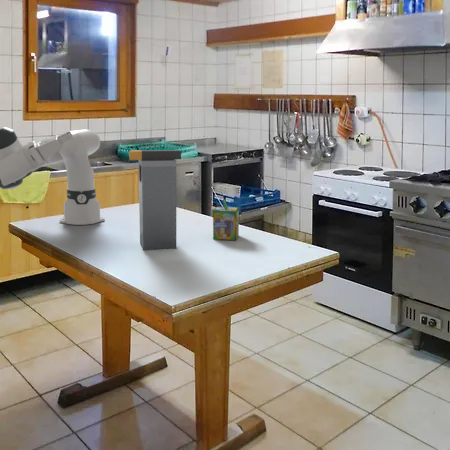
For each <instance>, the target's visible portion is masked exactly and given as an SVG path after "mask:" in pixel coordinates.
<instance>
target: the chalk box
mask: <svg viewBox="0 0 450 450" xmlns="http://www.w3.org/2000/svg"><path fill="white" fill-rule="evenodd" d="M222 202H223V203H222V204H223V206H216V207H214V209H213V210H212V227H213V228H212V230H213V231H212V232H213V233H212V234H213V235H212V236H213V237H212V238H213V240H217V241H219V240H221V241H222V240H224V241H226V240H228V241H237V239H238V237H239V230H240V229H239V228H240V227H239V226H240V225H239V224H240V223H239V222H240V221H239V220H240V213H239V212H240V208H239V207H236V206H234V207H233V206H228V205H227V201H226V199H224V200H223V201H222Z"/></svg>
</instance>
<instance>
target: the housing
mask: <svg viewBox="0 0 450 450" xmlns="http://www.w3.org/2000/svg"><path fill="white" fill-rule="evenodd" d="M138 201H139V202H138V203H139V206H138V207H139V244H140V247H141V249H142V251H163V250H177V159H163V160H138Z"/></svg>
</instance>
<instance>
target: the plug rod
mask: <svg viewBox="0 0 450 450" xmlns="http://www.w3.org/2000/svg"><path fill="white" fill-rule="evenodd" d="M128 153H129V154H128V155H129V156H128V157H129V160H130V161H139V160H163V159H175V160H182V150H180V149H159V150H158V149H153V150H152V149H146V150H145V149H140V150H138V149H137V150H136V149H135V150H132V149H131V150H129V152H128Z"/></svg>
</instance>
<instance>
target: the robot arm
mask: <svg viewBox="0 0 450 450" xmlns="http://www.w3.org/2000/svg"><path fill="white" fill-rule="evenodd" d="M100 147H101V139H100V136H99V134H98V133H96V132H95V131H93V130H90V129H84V128H83V129H77V130H68V131H65V132H64V133H62V134H59V135H58V134H55V135H54V136H50V137H45V138H43V139H39V140H36V141H35V140H32V141H31V142H29V143H27V144H24V145H23V144H22V142H21V141H20V139H19V137H18V135H17V134H16V132H15V131H14V129H12V128H9V127H1V128H0V189H2V190H13V189H16V188H18V187H19V186H20V185H22V184H23V180H24V179H26V178H27V177H30V175H32V174H33V171H37V170H39V169H40V168H42V167H46V166H50V165H54V164H59V163H64V166H65V170H66V181H67V189H66V198H67V199H66V201H64V203H63V216H62V217H61V218H60V219H59V223H61V224H68V225H74V226H75V225H76V226H77V225H78V226H81V225H83V226H84V225H85V226H86V225H93V224H97V223H100V222H105V221H106V219H105V217H103V216H102V215H101V207H100V206H101V205H100V203H101V202H100V201H99V200H98V199H96V198H97V190H96V188H95V175H94V174H95V171H94V169H93V168H92V166H91V163H90V160H89V156H90V155H92V154H94V153H95V152H97V151H98V150H99V149H100Z"/></svg>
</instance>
